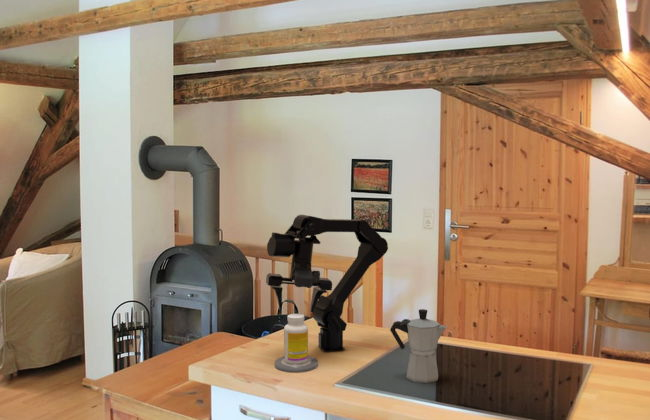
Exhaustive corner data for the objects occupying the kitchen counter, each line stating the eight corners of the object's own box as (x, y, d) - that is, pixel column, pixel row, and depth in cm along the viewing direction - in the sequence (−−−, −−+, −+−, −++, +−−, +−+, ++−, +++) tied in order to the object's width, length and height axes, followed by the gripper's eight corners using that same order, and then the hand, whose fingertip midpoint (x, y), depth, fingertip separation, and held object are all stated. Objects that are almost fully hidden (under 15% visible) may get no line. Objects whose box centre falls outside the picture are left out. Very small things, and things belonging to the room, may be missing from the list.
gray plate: (310, 356, 180) (310, 352, 179) (323, 369, 168) (323, 365, 168) (270, 360, 176) (270, 356, 176) (280, 374, 165) (280, 370, 164)
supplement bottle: (312, 362, 171) (312, 316, 170) (291, 366, 168) (291, 320, 166) (300, 355, 177) (300, 311, 176) (280, 359, 173) (279, 314, 172)
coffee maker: (448, 373, 165) (449, 307, 163) (445, 385, 156) (446, 315, 155) (392, 368, 169) (392, 304, 167) (387, 380, 160) (387, 311, 159)
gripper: (274, 259, 170) (267, 315, 170) (339, 264, 174) (333, 319, 174) (268, 253, 181) (262, 306, 181) (330, 259, 185) (324, 311, 185)
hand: (295, 311), depth 180 cm, fingers open, 9 cm apart
